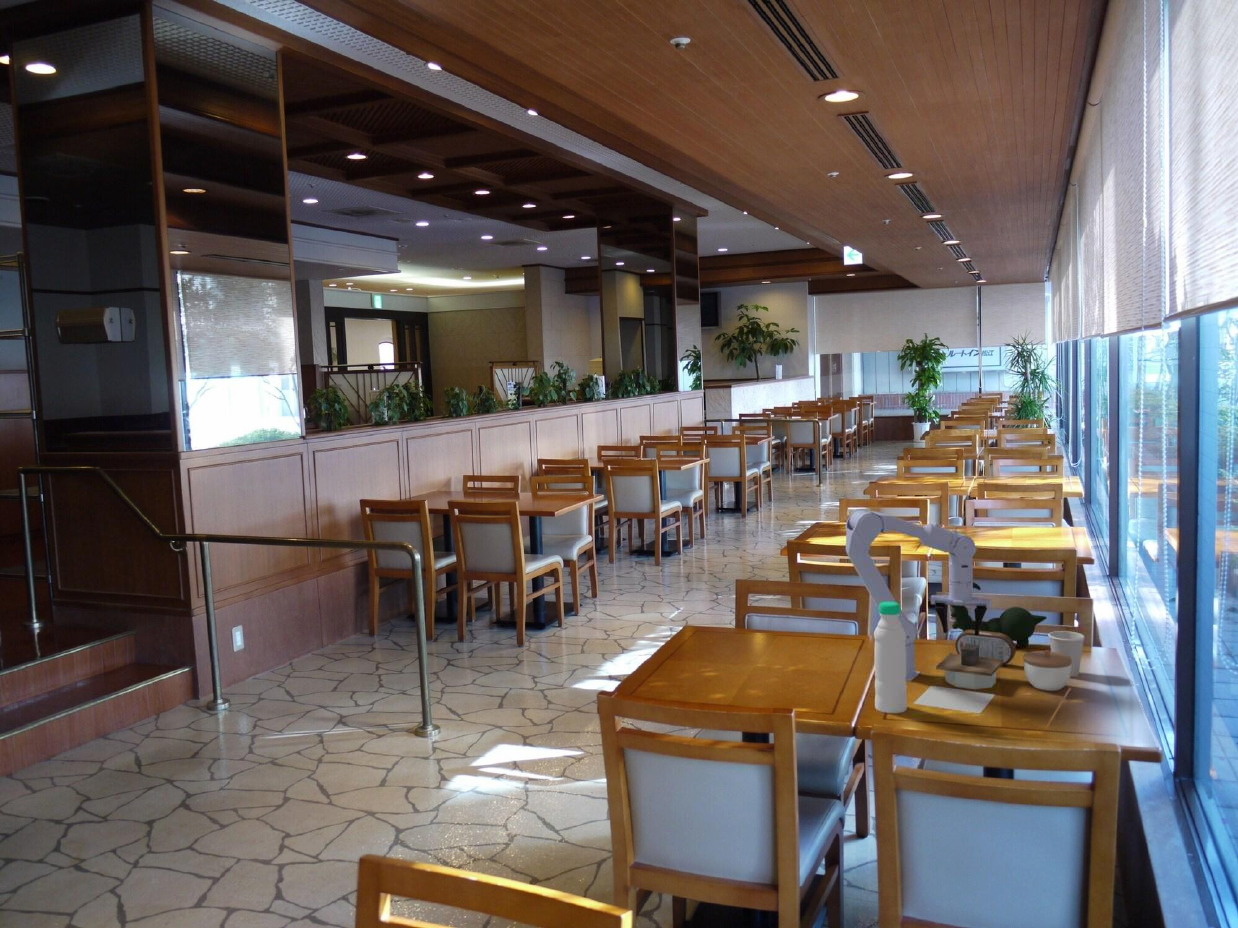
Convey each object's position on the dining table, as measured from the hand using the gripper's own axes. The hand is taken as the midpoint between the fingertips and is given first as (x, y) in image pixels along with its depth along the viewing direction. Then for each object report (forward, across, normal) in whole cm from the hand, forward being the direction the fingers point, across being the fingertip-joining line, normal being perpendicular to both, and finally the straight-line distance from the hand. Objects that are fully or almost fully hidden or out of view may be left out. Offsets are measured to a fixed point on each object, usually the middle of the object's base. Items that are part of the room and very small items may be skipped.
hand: (961, 633), depth 252 cm
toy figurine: (+11, +4, +31) cm, 33 cm away
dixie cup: (+11, +24, +9) cm, 28 cm away
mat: (+10, +2, -22) cm, 25 cm away
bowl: (+10, +3, -7) cm, 13 cm away
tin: (+11, +4, +12) cm, 16 cm away
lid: (+6, +3, -8) cm, 10 cm away
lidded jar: (+11, +21, -5) cm, 24 cm away
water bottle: (+11, -10, -34) cm, 37 cm away
